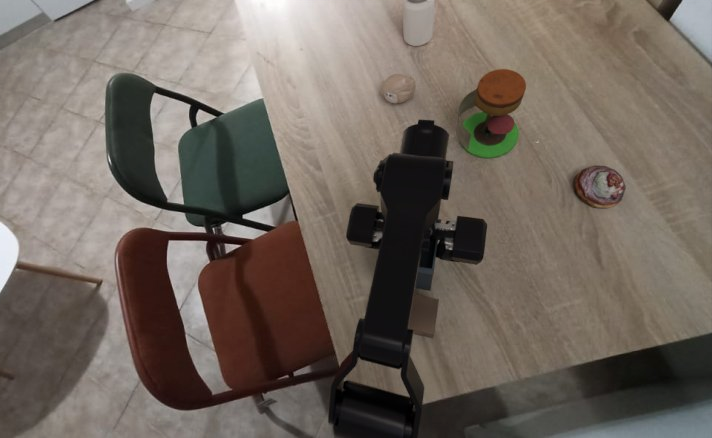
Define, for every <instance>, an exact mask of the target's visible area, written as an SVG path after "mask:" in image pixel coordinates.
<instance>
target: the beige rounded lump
mask: <svg viewBox="0 0 712 438" xmlns="http://www.w3.org/2000/svg"><path fill="white" fill-rule="evenodd" d="M415 91H416V81H415V78H414V77H412V75H409V76H408V75H405V74H402V73H394V74H391V75H390V76H388V77H387V78H386V79H385V80H384V81H383V82H382V84H381V85H380V92H381V94H382V95H383V96H384V98H385V99H386V101H387V102H389V103H391V104H402V103H404V102H406V101H408V100H409V99H411V98H412V97H413V95H414V94H415Z"/></svg>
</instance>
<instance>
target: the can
mask: <svg viewBox="0 0 712 438" xmlns="http://www.w3.org/2000/svg"><path fill="white" fill-rule="evenodd" d="M435 12H436V0H402V24H403V25H402V26H403V27H402V29H403V30H402V31H403V40H404V42H405V43H406V44H408V45H409V46H412V47H421V46H424V45H426V44H428V43H429V42H431V40H432V38H433V36H434V27H435Z"/></svg>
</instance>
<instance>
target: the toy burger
mask: <svg viewBox="0 0 712 438" xmlns="http://www.w3.org/2000/svg"><path fill="white" fill-rule="evenodd" d="M526 89H527V83H526V80H525V78H524V77H523V75H522V74H520V73H519V72H518V71H515V70H511V69H507V68H500V69H499V68H498V69H494V70H491V71H489V72H487V73H486V74H484V75H483V76H482V77H480V79H479V81H478V83H477V87H476V88H475V89H474V90H472V91H470V92H469V93H467V94H466V95H465V96H464V97H463V99H462V100H461V102H460V103H459V106H458V111H457V117H456V123H455V135H456V138H457V140H458V141H459V143H460V145H461V147H462V148H463V149H464V150H465V151H466V152H467V153H468V154H471V155H472V156H474V157H477V158H482V159H494V158H499V157H502V156H505V155H506V154H508V153H510V152H511V151H512V150H513V149H514V147H515V146H516V145H517V143H518V140H519V135H520V133H519V127H518V125H517V123H516V121H515V119H514V118H513V116H511V115H510V114H511V113H513V112H515V111H516V110H517V109H518V108H519V107H520V105H521V103H522V101H523V98H524V95H525V92H526ZM474 107H476V108H478V109H479V110H480V111H479V112H476V113H474V114H471V115H470V116H469V117H467V118H466V119H465V120H464V121H463V122H462V121H461V119H460V117H461V116H462V115H463V114H465V112H467V111H469V110H470V109H473V108H474Z"/></svg>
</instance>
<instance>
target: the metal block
mask: <svg viewBox="0 0 712 438" xmlns="http://www.w3.org/2000/svg"><path fill="white" fill-rule="evenodd" d="M439 302H440V299H439V298H433V297H428V296H423V295H420V294H419V295H418V294H414V299H413V305H412V311H411V317H410V323H409V329H412V330H414V331H413V335H416V336H421V337H425V338H430V339H434V335H435V331H436V322H437V317H438V316H437V315H438V309H439Z"/></svg>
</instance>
